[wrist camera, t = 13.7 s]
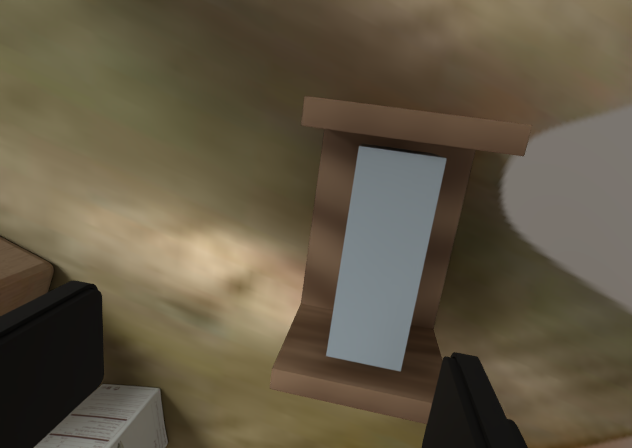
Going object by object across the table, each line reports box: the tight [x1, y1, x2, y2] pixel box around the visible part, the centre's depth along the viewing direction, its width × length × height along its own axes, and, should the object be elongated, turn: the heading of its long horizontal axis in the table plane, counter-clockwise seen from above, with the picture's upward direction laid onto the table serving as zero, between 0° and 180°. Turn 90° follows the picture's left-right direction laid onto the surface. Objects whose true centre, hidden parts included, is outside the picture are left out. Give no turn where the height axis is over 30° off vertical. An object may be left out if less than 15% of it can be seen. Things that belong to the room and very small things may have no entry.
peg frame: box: [270, 96, 532, 424], centre depth 28 cm, size 19×12×11 cm, turn 172°
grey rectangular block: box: [326, 144, 447, 372], centre depth 26 cm, size 14×5×6 cm, turn 173°
